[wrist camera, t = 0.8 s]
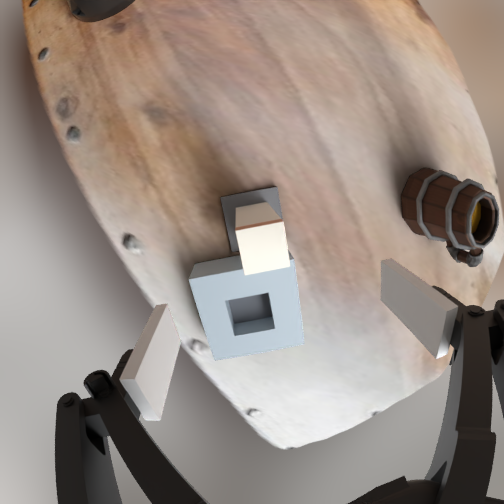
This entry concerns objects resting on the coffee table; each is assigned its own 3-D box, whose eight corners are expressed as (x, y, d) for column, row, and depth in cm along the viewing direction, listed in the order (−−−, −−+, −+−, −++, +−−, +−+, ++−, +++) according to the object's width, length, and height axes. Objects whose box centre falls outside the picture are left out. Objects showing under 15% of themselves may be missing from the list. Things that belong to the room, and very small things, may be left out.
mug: (391, 186, 39) (452, 200, 25) (437, 159, 38) (499, 164, 24) (416, 264, 44) (467, 300, 30) (457, 234, 42) (511, 258, 28)
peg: (235, 207, 38) (235, 230, 25) (266, 201, 38) (283, 221, 25) (241, 237, 39) (244, 275, 26) (272, 232, 39) (290, 266, 26)
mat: (220, 197, 38) (220, 197, 38) (276, 186, 38) (277, 187, 38) (232, 249, 41) (232, 252, 40) (285, 239, 41) (286, 241, 40)
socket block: (194, 263, 41) (188, 279, 36) (286, 245, 41) (294, 259, 36) (216, 338, 46) (214, 360, 40) (297, 323, 46) (304, 344, 40)
